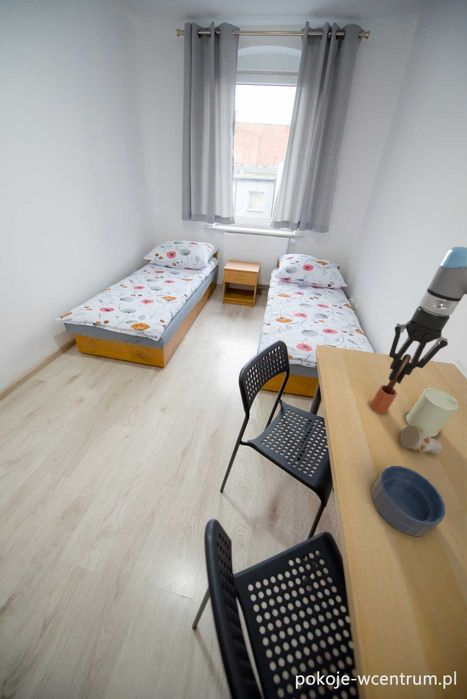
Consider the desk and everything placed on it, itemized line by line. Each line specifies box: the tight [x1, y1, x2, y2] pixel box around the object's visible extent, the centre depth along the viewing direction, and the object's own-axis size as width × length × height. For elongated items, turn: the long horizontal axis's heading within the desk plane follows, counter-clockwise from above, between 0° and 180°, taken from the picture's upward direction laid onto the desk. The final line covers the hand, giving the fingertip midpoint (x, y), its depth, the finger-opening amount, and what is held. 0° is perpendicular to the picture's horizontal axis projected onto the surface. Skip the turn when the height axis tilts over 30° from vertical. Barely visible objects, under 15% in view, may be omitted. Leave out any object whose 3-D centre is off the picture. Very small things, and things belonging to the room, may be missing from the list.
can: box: [405, 387, 460, 437], centre depth 84 cm, size 9×9×12 cm
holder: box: [370, 384, 398, 415], centre depth 89 cm, size 5×5×8 cm
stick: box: [384, 353, 412, 395], centre depth 85 cm, size 2×2×19 cm
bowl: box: [371, 465, 446, 537], centre depth 63 cm, size 13×13×6 cm
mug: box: [400, 425, 442, 455], centre depth 78 cm, size 8×10×10 cm
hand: (394, 379), depth 85 cm, fingers closed on stick, 2 cm apart
